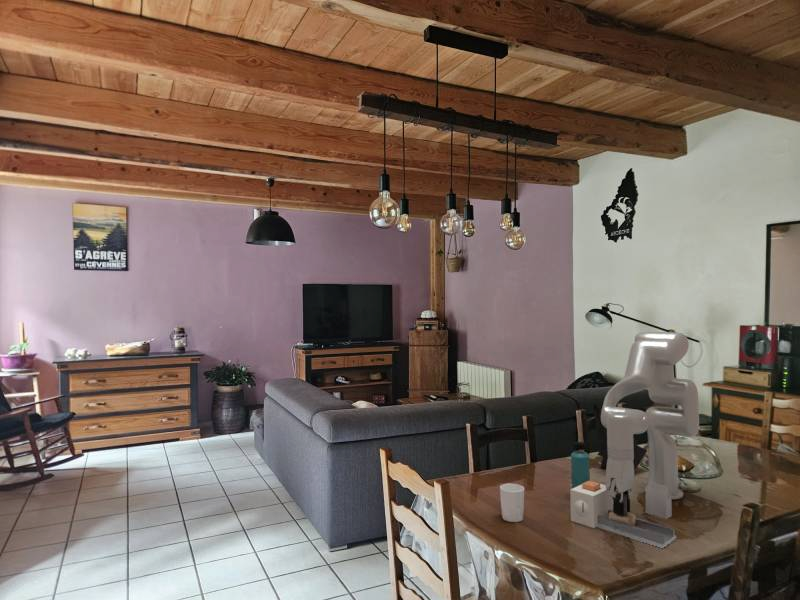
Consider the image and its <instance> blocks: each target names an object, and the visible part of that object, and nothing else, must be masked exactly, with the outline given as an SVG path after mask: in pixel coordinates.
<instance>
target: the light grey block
mask: <svg viewBox="0 0 800 600" xmlns="http://www.w3.org/2000/svg"><path fill="white" fill-rule="evenodd" d="M646 486H647V490H646V492H645V496H644V497H645V500H644V501H645V514H646V513H648V514H647V515H649V514H651V515H650V516H652V515H655V516H654V517H656V516H659V517H662V518H665V519H664V520H666V519H667V518H669V517H671V516H672V517H673V514H672V513H673V510H672V505H673V504H672V499H671V495H670V491H669V487H666V486H662V485H658V484H654V483H650V482H649V481H648V482H647V484H646ZM659 517H658V518H659ZM672 517H671V518H672ZM662 518H661V519H662ZM669 519H670V518H669ZM667 520H668V519H667Z"/></svg>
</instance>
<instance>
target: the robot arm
mask: <svg viewBox="0 0 800 600" xmlns="http://www.w3.org/2000/svg"><path fill="white" fill-rule="evenodd" d="M689 344H690V343H689V340H688V337H687V336H686V335H685V333H683V332H676V331H674V332H671V331H666V332H665V331H642V332H638V333H637V334H636V335H635V336H634V342H633V343H632V345H631V347H630V351H629V355H628V360H627V364H626V367H625V368H626V369H625V372H624V376H623V378H622V379H620V380H619V381H618V382H617V383H614V385H613V386H612V387H611V388H610V389H608V391H607V393H606V394H605V397H604V400H603V404H602V408H601V411H602V412H601V422H602V425H603V426H604V427H605V428H607V451H608V460H607V467H606V469H605V485H606V489H607V490H610V492H609V496H611V497H612V500H613V512H614V513H615V514H618V515H622V516H623V515H624V502H623V494H626V495H627V513H631V496H632V495H631V492H632V488H634V486H635V478H636V477H635V471H634V464H633V460H634V446H633V438H634V435H641V434H643V433H645V432H646V433H647V446H648V451H647V453H648V482H650V483H654V484H658V485H662V486H666V487H669V491H670V495H671V500H680V499H682V498H683V497H684V492H683V491H682V490H681V489H680V488H679V484H680V483H681V479H680V478H679V468H678V464H679V463H678V445H677V443H676V441H675V440H674V438H673V436H679V437H687V438H693V437H694V438H695V437H696V436H697V435H698V433H699V430H700V412H699V410H700V409H699V391H698V386H697V384H696V383H695V382H694V381H692V380H691V379H686V378H678V377H677V378H676V377H675V376H674V366H675V365H676V364H678V363H679V362H680V361H681V360H682V359H683V358H684V357H685V356H686V354H687V352H688V350H689ZM645 390H648V397H649V399H650V400H651V401H652V402H654V403H656V404H657V403H658V404H661V405H662V404H663V405H674V406H680V407H681V408H677V407H675V408H674V407H669V406H651V407H648V408H647V409H646V410H645V411H643V410H641V409H633V408H628V407H622V406H621V407H620V406H617V404H618V403H619V402H620V400H622V399H623V398H625V397H627V396H629V395H633V394H635V393H638V392H642V391H645ZM646 490H647V485H646V486H645V487H644V492H645V493H646ZM617 494H619V495H617Z"/></svg>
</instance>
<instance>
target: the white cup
mask: <svg viewBox="0 0 800 600" xmlns="http://www.w3.org/2000/svg"><path fill="white" fill-rule="evenodd" d="M499 495H500V497H499V498H500V508H501V518H502V519H503V520H504V521H506V522H510V523H517V522H518V523H519V522H522V521H523V520H524V508H525V487H524V486H523V485H520V484H517V483H504V484H501V485H500V486H499Z"/></svg>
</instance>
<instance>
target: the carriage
mask: <svg viewBox="0 0 800 600" xmlns="http://www.w3.org/2000/svg"><path fill="white" fill-rule="evenodd" d="M616 494H617V493H616ZM617 495H619V494H617ZM623 502H624V515H623V516H622V515H618V514H615V513H614V512H611V513H609V519H613V520H616V521H619V522H622V523H625V524H629V525H632V526H634V525H636V523H635V517H636V514H633V513H631V512H627V495H626V494H623Z"/></svg>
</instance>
